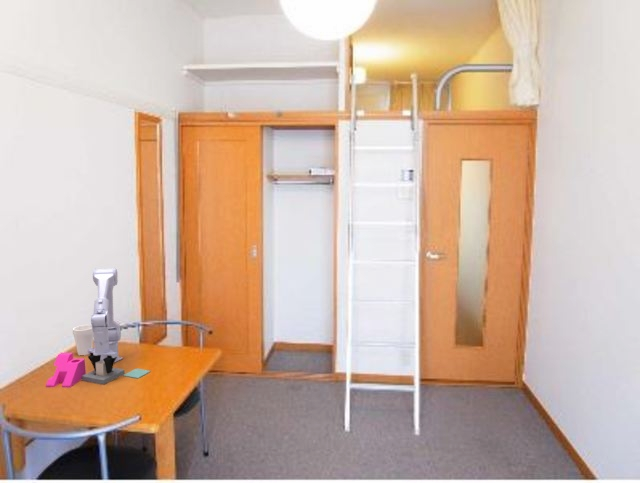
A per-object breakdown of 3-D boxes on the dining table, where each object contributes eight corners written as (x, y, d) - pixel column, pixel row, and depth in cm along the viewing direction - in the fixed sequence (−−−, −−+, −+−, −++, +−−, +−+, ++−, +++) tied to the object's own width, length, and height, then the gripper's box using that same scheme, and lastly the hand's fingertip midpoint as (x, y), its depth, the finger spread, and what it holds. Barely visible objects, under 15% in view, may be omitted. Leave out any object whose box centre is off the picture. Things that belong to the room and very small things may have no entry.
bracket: (62, 375, 209) (61, 352, 208) (85, 375, 209) (84, 353, 207) (46, 387, 197) (44, 363, 196) (70, 387, 197) (68, 363, 195)
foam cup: (70, 354, 234) (68, 328, 232) (87, 348, 242) (86, 323, 240) (82, 358, 229) (80, 331, 228) (99, 352, 237) (98, 326, 235)
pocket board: (81, 380, 203) (81, 376, 203) (103, 370, 215) (103, 365, 214) (103, 384, 199) (103, 380, 199) (124, 373, 210) (124, 369, 210)
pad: (123, 376, 208) (123, 375, 208) (136, 369, 215) (136, 368, 215) (137, 378, 205) (137, 377, 205) (150, 371, 213) (150, 370, 213)
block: (96, 378, 206) (95, 362, 205) (103, 374, 209) (102, 359, 209) (103, 379, 204) (102, 364, 203) (110, 376, 208) (109, 360, 207)
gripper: (80, 341, 204) (83, 372, 205) (107, 346, 198) (109, 377, 200) (94, 336, 210) (96, 366, 212) (120, 340, 205) (121, 371, 207)
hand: (103, 371), depth 207 cm, fingers open, 6 cm apart
